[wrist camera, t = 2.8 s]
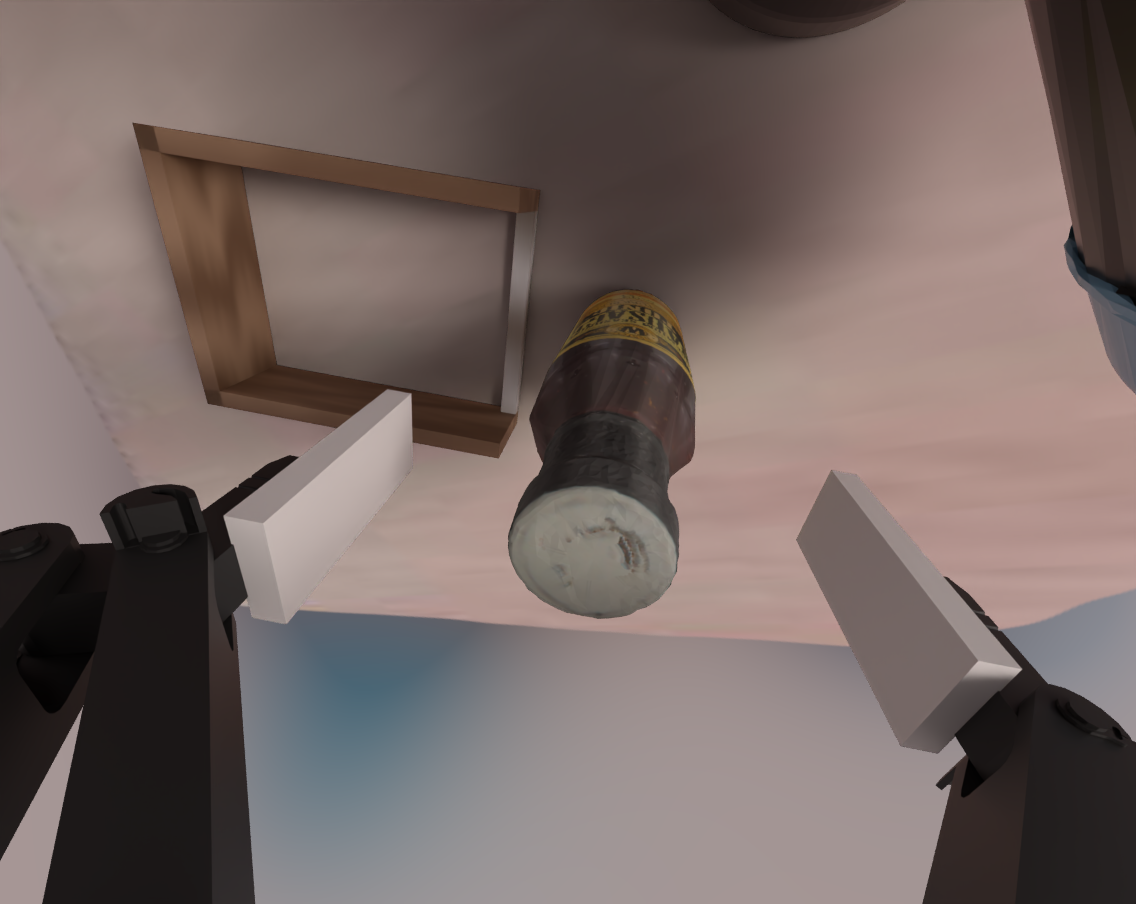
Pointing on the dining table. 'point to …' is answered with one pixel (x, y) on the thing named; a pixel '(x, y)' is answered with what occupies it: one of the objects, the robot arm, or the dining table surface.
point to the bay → (236, 298)
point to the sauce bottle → (608, 461)
